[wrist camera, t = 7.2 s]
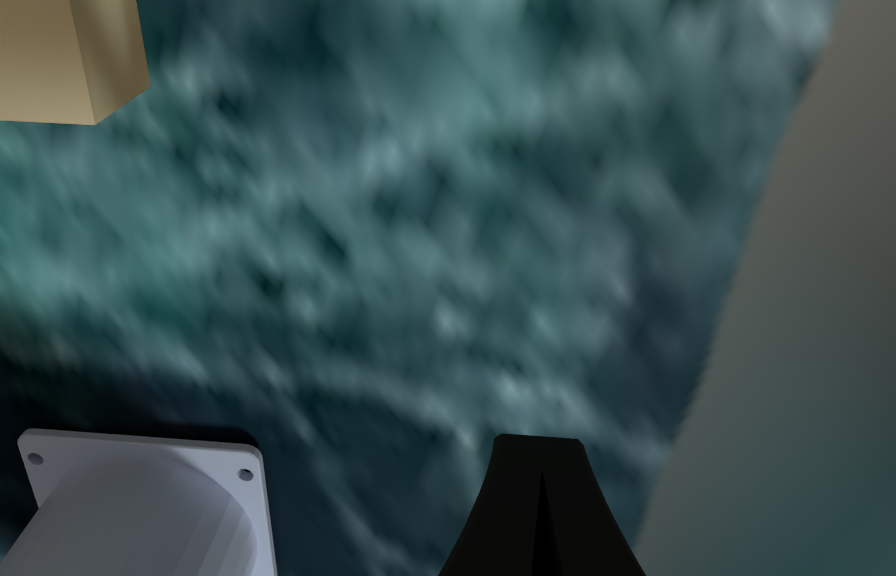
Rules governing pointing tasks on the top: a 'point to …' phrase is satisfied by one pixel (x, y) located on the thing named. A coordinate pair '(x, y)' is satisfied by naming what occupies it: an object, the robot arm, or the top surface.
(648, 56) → the top surface
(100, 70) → the maple t block
